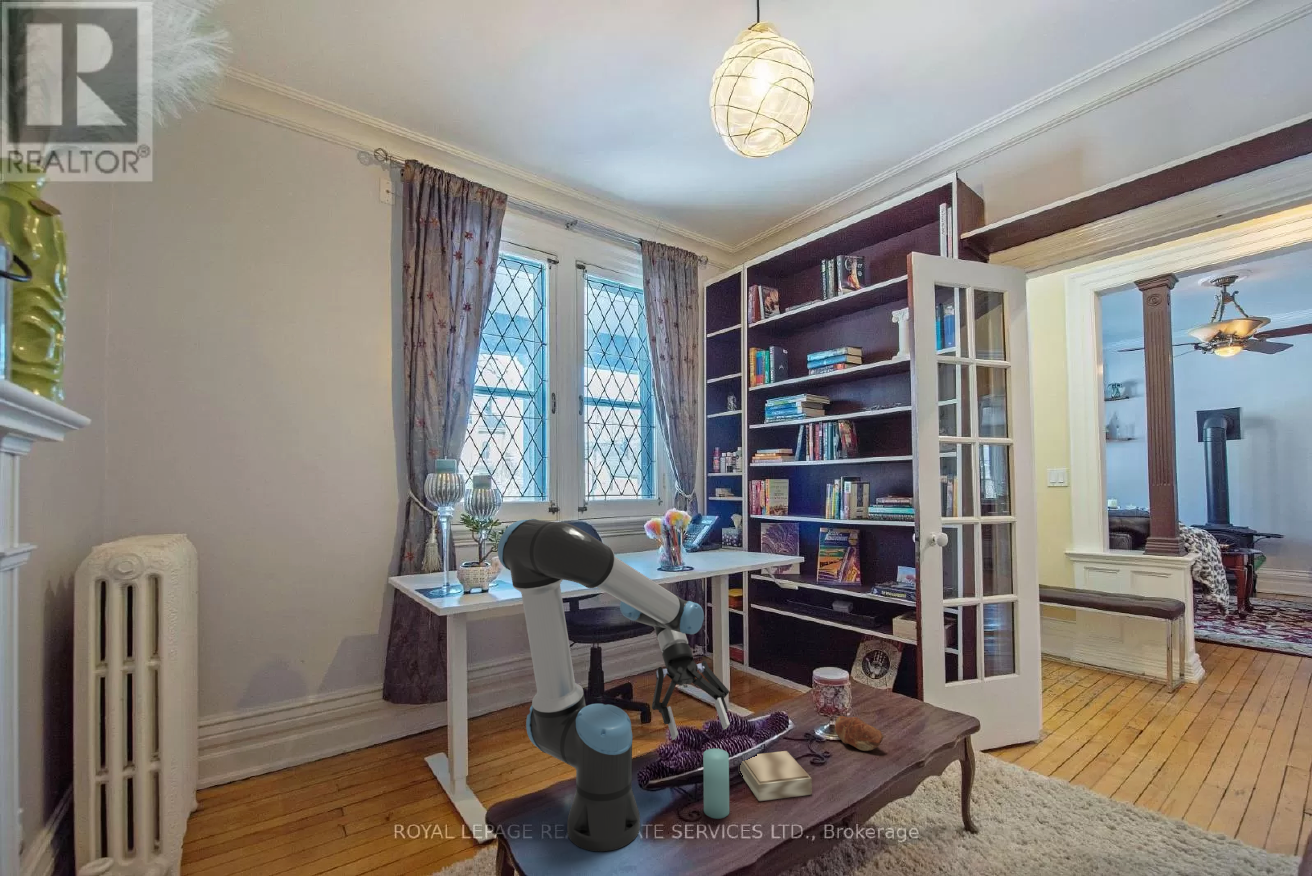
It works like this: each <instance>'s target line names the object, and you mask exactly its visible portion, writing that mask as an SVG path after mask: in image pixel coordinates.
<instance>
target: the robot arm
mask: <svg viewBox="0 0 1312 876" xmlns="http://www.w3.org/2000/svg"><path fill="white" fill-rule="evenodd" d="M615 555H616V554H615V553H614V550H613V549H612V548H611V547H610V546H608V545H606V544H605V543H603V542H602V541H600V540H599V539H597V538H595V537H594V536H593V535H591V534H589V533H587V532H586V531H584V530H582V529H581V528H579V527H577V526H575V525H573V524H570V523H568V522H562V521H550V520H549V521H548V520H539V519H535V518H531V519H519V520H516V521H514V522H512V523H511V524H510V525H508V526H507V527H506V529H505V530H504V531H503V533H502V535H501V536H500V538H499V540H498V544H497V556H498V560H499V562H500V564H501V565H502V566H503V567H504V568H505V569H506V570H509V571H510V576H511V582H512V587H513V588H514V589H515V590H517V591H519V592H520V593H521V599H522V606H523V612H524V619H525V624H526V625H525V626H526V631H527V636H528V642H529V650H530V655H531V662H532V668H533V675H534V679H535V680H534V681H535V687H536V694H535V695H534V696H533V697H532V701H531V702H532V703H531V705H530V708H529V713H528V714H527V715H526V721H525V722H526V723H525V725H526V726H525V728H526V733H527V736H528V738H529V740H530V742H531V743H532V744H533V745H534V746H535V747H537V749H539V751H541V752H542V753H545V754H547V755H549V756H551V757H553V758H555V759H557V760H559V761H561V762H563V763H566V764H567V765H568V766H570V767H572V768H574V769H575V773H576V775H575V777H576V779H575V781H576V784H575V785H576V787H575V793H574V797H573V800H572V803H571V806H570V810H569V812H568V816H567V825H566V826H567V828H566V829H567V831H566V832H567V836H568V838H569V840H570V841H571V842H572V843H573V844H574V845H575V846H577V847H579V848H581V849H583V850H587V851H590V852H591V851H593V852H609V851H613V850H614V851H615V850H619V849H620V848H623V847H625V846H627V845H628V844H630V843H632V842H633V841H634V840H635V839H636V838H637V836H639V832H640V829H641V816H640V811H639V807H638V805H637V801H636V798H635V795H634V794H635V793H634V792H633V789H632V788H633V787H632V786H633V784H632V779H633V777H632V772H633V770H632V769H633V732H632V722H631V718H630V716H629V715H628V714H627V712H626V711H625V710H624V709H622V708H621V707H618V706H617V705H614V704H604V703H591V704H588V705H586V699H585V698H586V697H585V694H584V689H583V686H581V685H580V684H578V683H576V680H575V672H574V666H573V661H572V660H573V659H572V652H571V646H570V640H569V635H568V628H567V627H568V626H567V622H566V616H565V615H566V614H565V608H564V602H563V596H562V589H561V584H562V582H563V581H568V582H573V583H575V584H580V586H583V587H586V588H587V589H596V588H597V589H598V590H601V591H603V592H604V593H606V594H608V595H610V596H611V597H614V598H615V599H617V600H619V601H620V603H619V609H620V613H621V615H622V616H624V617H625V618H626V619H628V620H630V621H633V622H637V623H640V624H642V625H643V624H644V625H647V626H649V627H653V629H654V632H655V634H656V637H657V638H656V639H657V641H658V645H659V649H660V651H661V656H662V659H663V662H664V666H665V668H663V667H662V666H658V668H657V670H656V671H655V677H656V678H655V679H656V682H655V689H654V693H653V697H652V704H651V709H652V710H653V711H656V710H657V711H658V712H659V714H661V718H662V721H663V724H664V725H668V729H669V732H670V737H671V740H672V741H673V740H676V739H677V737H678V736H679V731H678V728H677V725H676V721H675V718H674V714H673V710H672V707H671V706H668V704H669V701H670V699H671V697H672V696H673V695H672V694H673V693H674V691H675V688H676V686H677V685H678V686H679V687H680V686H684V685H691V684H693V685H694V686H697V687H699V688H700V689H701V690H702V691H704V692H705V693H706V694H708V695H709V696H710V697H711V698H712V699H714V700H715V701H714V707H715V709H716V713H717V714H718V718H719V721H720V724H721V727H722V730H727V728H728V727H729V726H730V724H731V723H730V721H729V718H728V714H727V712H728V706H727V703H726V701H725V698H726V697H727V696H728V695H729V693H730V691H729V689H728V688H727V687H726V685H725V684H724V683H723V682H722V681H721V679H719V677H718V676H717V675H716V674H715V673H714V672H713V671H712V670H711V668H710V667H709V665H708V662H707V661H706V660H702V661H701V663H698V664H697V663H696V662H695V660H694V656H693V652H692V649H691V647H690V645H689V640H688V638H687V635H694V634H697V633H698V632H700V630H701V628H702V627H703V623H704V619H705V618H704V617H705V614H704V609H703V608H702V606H701V604H699V603H697V602H695V601H694V602H693V601H692V600H688V601H687V600H684V599H683V598H681V597H680V596H677V595H676V594H674V593H672V592H671V591H669V590H668V589H666V588H665V587H663V586H661V585H660V584H658V583H657V582H655V581H654V580H653V579H650V578H649V577H647V576H646V575H645V574H643V573H641V572H640V571H638V570H636V569H635V568H634V567H632V566H630V564H627V563H626V562H624V561H622V560H621V559H619V558H618V557H616V556H615ZM686 634H687V635H686ZM701 674H702V675H703V676H702V675H701ZM666 676H667V677H668V678H669V679H671V681H670V682H669V685H668V688H667V690H666V693H665V694H664V697H663V699H662V702H661V696H662V690H663V685H664V680H665V677H666Z"/></svg>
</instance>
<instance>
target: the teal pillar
mask: <svg viewBox="0 0 1312 876" xmlns="http://www.w3.org/2000/svg"><path fill="white" fill-rule="evenodd" d="M702 754H703V755H702V756H703V759H702V760H703V762H702V763H703V764H702V765H703V766H702V767H703V769H702V771H703V813H704V814H705V815H706V816H707V817H709V818H711V819H715V820H716V819H717V820H719V819H724V818H726V817H727V816H729V815H730V769H729V768H730V760H729V759H730V754H729V753H728V752H727V751H726V750H724V749H722V748H708V749H706V750H705V751H704V752H703V753H702Z"/></svg>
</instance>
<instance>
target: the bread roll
mask: <svg viewBox="0 0 1312 876" xmlns="http://www.w3.org/2000/svg"><path fill="white" fill-rule="evenodd" d="M834 729H835V734H836V735H837V737H838V739H840V740H841V741H842V743H843V744H845V745H850V746H852V747H854V748H856V749H858V750H859V751H864V752H868V751H873V750H875V749H876V748H878V747H879V746H881V743H882V742H883V739H884V738H885V735H884V734H883V733H882V731H881V730H879V729H877V728H876V727H874V726H873V725H870V724H868V723H867V722H865V721H864V720H862V719H860V718H859V717H857V716H852V717H851V716H850V717H849V716H845V715H844V716H843V715H839V716H838V717H837V718H836V719H835V723H834Z"/></svg>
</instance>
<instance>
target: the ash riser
mask: <svg viewBox="0 0 1312 876" xmlns="http://www.w3.org/2000/svg"><path fill="white" fill-rule="evenodd" d="M756 754H757V756H755V757H752V758H750V759H748V760H745V761H742V763H741V765H740V771H741V773H742V775H743V777H742V778H743V780H744V782H745V783H746V784H747V786H748V787H749V789H750V790H751V792H752V793H753V795H754V797H755V798H756V799H757V801H758V802H763V801H772V800H777V799H778V800H779V799H786V798H794V797H802V796H803V797H804V796H809V795H810V796H811V795H813V791H812V790H813V787H812V786H813V784H812V783H813V781H812V780H813V778H812V777H811V776H810V775H809V773H808V772H807V771H805V769H804V768H803V767H802V766H801V765H800V764H799V762H797V760H796V759H795V758H794V757H793V756H792V755H791V754H790V753H789V751H787V750H783V751H782V750H781V751H774V752H773V751H772V752H766V753H765V752H764V753H756ZM742 775H741V776H742Z"/></svg>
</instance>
